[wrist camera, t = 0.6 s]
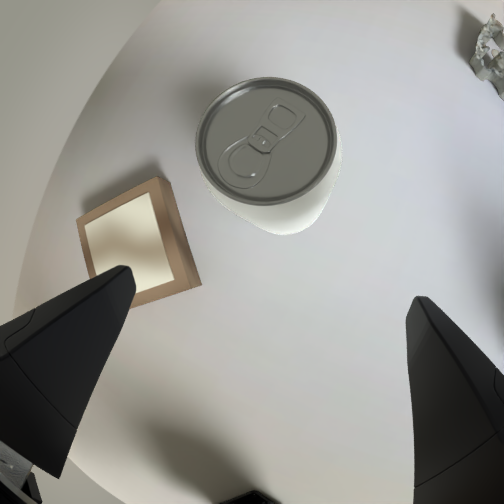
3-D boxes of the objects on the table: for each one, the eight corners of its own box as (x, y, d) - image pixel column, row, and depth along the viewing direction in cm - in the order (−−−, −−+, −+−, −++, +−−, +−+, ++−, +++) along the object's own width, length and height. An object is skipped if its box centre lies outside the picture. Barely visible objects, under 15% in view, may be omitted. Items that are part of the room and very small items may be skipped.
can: (226, 201, 23) (155, 156, 12) (276, 139, 23) (251, 48, 11) (290, 252, 23) (279, 253, 11) (341, 187, 22) (379, 124, 10)
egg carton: (479, 27, 19) (491, 9, 15) (524, 67, 18) (539, 53, 14) (460, 66, 20) (476, 46, 16) (512, 114, 19) (532, 99, 15)
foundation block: (201, 284, 24) (190, 288, 21) (117, 312, 25) (100, 318, 22) (170, 182, 24) (156, 175, 22) (92, 221, 26) (74, 219, 23)
